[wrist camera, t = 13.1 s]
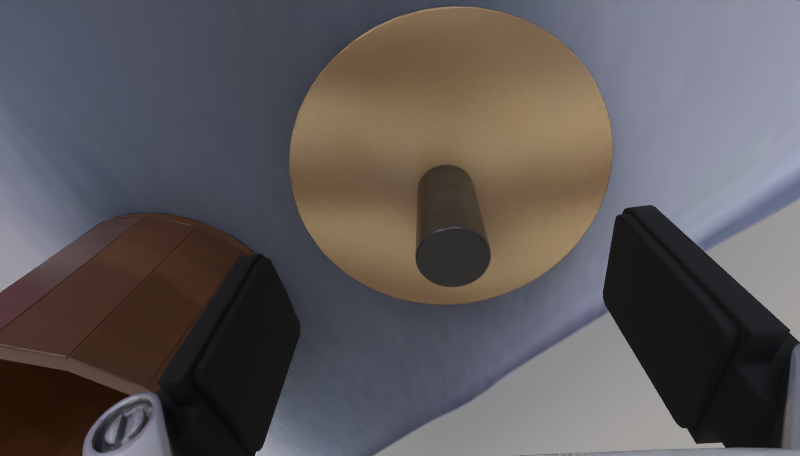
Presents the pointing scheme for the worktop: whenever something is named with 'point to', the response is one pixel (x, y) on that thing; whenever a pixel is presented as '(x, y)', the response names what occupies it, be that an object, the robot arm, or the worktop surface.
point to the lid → (450, 155)
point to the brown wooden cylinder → (101, 324)
